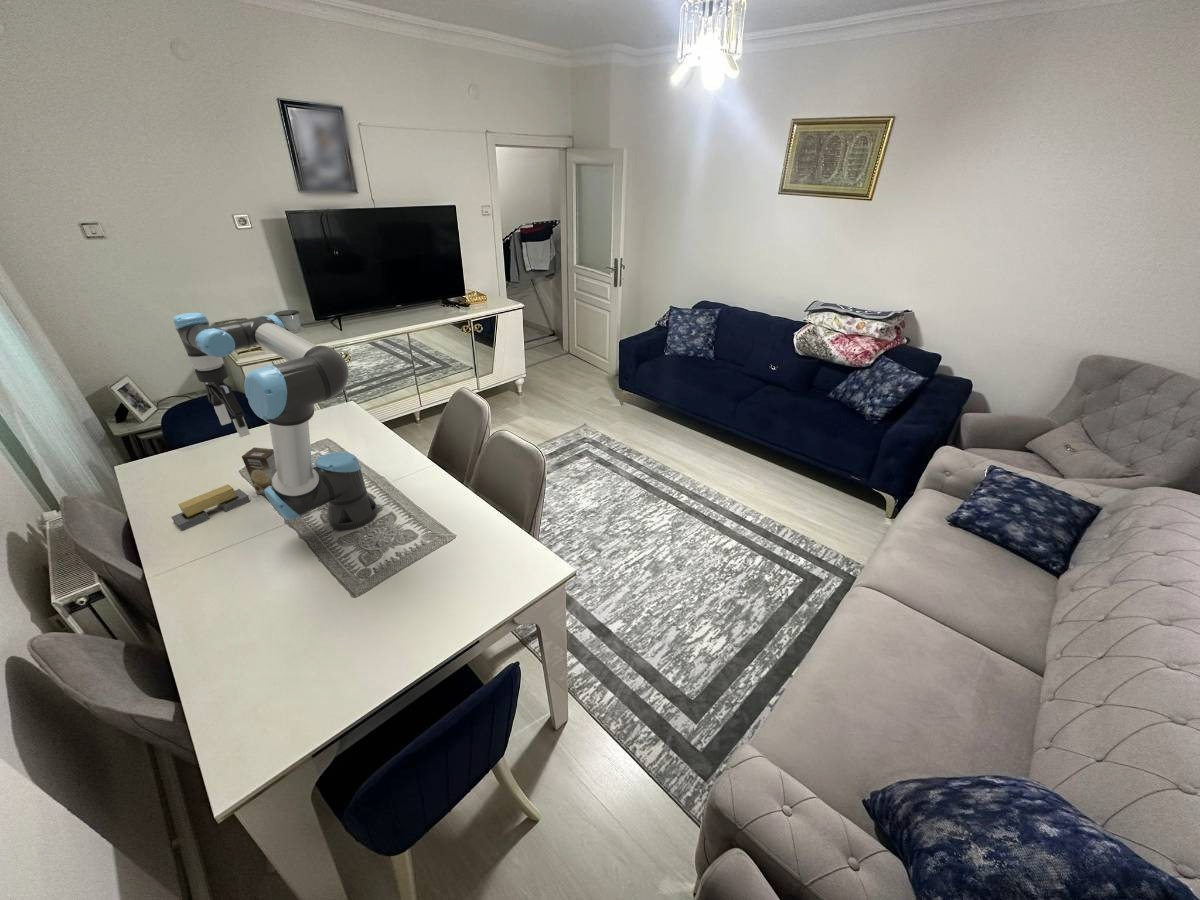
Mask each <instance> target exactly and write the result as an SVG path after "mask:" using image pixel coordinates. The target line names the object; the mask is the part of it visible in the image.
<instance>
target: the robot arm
mask: <svg viewBox="0 0 1200 900" xmlns="http://www.w3.org/2000/svg"><path fill="white" fill-rule="evenodd" d="M172 320H173V324H174V327H175V331H176V332H177V334H178V336H179V338H180V340H181V342H182V345H183V347H184V349H185V352H186V353H187V354H186V355H187V357H188V359H189V361H190V364H191V366H192V368H193V369H195V370H194V374H195V375H196V377H197V380H198V381H199V382H200V383H203V384H204V388H205V392H206V395H207V399H208V400H207V401H208V403H211V405H212V406H213V409H214V411H215V414H216V415H217V417H218V420H219V423H220V425H221V426H225V425H228V424H232V422H233V424H234V427H235V429H236V431H237V434H238V437H240V438H243V437H247V436H248V435H249V436H250V435H251V433H250V430H249V428H248V425H247V423H246V419H245V418H244V417H245V416H246V413H245V412H244V410H243V408H242V407H241V405H240V403H239V401H238V399H237V397H236V396H235V394H234V392H233V390H232V386H231V385H230V384H227V383H225V381H224V380H226V379H228V378H229V376H230V374H229V372H228V371H229V370H228V369H227V367H226V364H224V359H223V358H226V357H228V356H229V355H231V354H232V353H233V352H234V351H238V350H242V349H246V348H252V347H255V346H261V347H262V348H265V349H266V350H268V351H270V352H271V353H273V354H275V355H276V356H278V357H280V358H282V359H284V360H286V361H283V362H280V363H277V364H273V365H269V364H268V365H264V366H262V367H260V368H257V369H255V370H252V371H250V372H249V373H248V374H247V375H246V377H245V378H244V385H243V387H244V394H245V397H246V398H247V400H248V404H249V406H250V408H251V410H252V412H253V413H254V414H255V415H256V416H257V417H258V418H260V419H262V420H264V421H265V422H266V423H268V424H269V425H268V426H269V429H270V437H271V444H272V449H273V451H274V457H275V464H276V470H277V472H276V473H275V474H274V476H273V478H272V486H268V487H267V488H266V489H265V490H264V493H265V497H266V498H267V500H268V501H269V503H270V505H271V507H272V508H273V509H274V510H275V511H276V513H277V514H278V515H279V516H280V517H281V518H282V519H283V520H286V521H292V520H296V519H297V518H300V517H303V516H304V515H306V514H308V513H310V512H312V511H314V510H316V509H317V508H320V507H322V506H324V505H326V504H327V506H328V507H327V516H326V517H327V521H328V523H329V526H330V527H331V528H334V529H335V530H341V531H342V530H343V531H348V530H353V529H357V528H360V527H363V526H365V525H366V524H368V523H370V522H372V521H373V520H374V519H375V518H376V516H377V515H378V512H379V511H378V510H379V509H378V505H377V503H376V501H375V500H374V498H373V497H372V496H371V495H370V493H369V492H368V491H367V486H366V484H365V483H366V482H365V479H364V476H363V472H362V466H361V465H360V462H359V460H358V458H357V456H356V455H355V454H352V453H350V452H343V451H337V452H336V451H334V452H329V453H325V454H322V455H320V456H318V457H317V458H316V459H315V464H314V465H315V466H314V467H313V461H312V450H311V449H312V448H311V437H310V425H309V421H310V420H311V419H312V418H313V416H314V414H315V405H316V404H319V403H321V402H324V401H327V400H329V399H333V398H334V397H336V396H338V395H340V393H341V392H343V390H345V389H344V388H345V387H346V386H347V383H348V381H349V377H350V376H349V375H350V374H349V373H350V372H349V365H348V363H347V362H346V360H345V358H344V357H343V356H342V355H341V354H340V353H339V352H337V350H335V349H333V348H330V347H329V346H326V345H317V344H315V343H313V342H311V341H308V340H307V339H305V338H303V337H301V336H299V335H298V334H297V335H296V334H295V333H293V332H291V331H289V330H287V329H286V328H285V325H284V323H283V322H282V320H281V319H280V318H279V317H278V316H276V315H275V314H270V315H269V314H268V315H260V316H255V317H252V318H246V319H242V320H238V321H233V322H226V323H220V324H216V325H210V321H209V320H208V318H207V316H206V315H205V314H204V313H201V312H185V313H180V314H178V315H175V316H174V317H173V318H172ZM229 413H230V415H231V417H230V415H229Z"/></svg>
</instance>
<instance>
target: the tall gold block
mask: <svg viewBox="0 0 1200 900" xmlns="http://www.w3.org/2000/svg"><path fill="white" fill-rule="evenodd" d="M236 497H237V496H236V493H235V489H234V487H233V486H232V485H230V484H225V485H223V486H220V487H218V488H215V489H213V490H210V491H207V492H205V493H203V494H200V495H198V496H196V497H192V498H190V499H188V500H184V501H182V502H180V503H178V504H177V505H178V507H179V508H180V510H181V513H182V512H183V514H184V515H185V516H186V518H187V519H190V518H192V517H194V516H197V515H199V512H201V511H203V510H204V511H206V510H208V509H211V508H213V507H215V506H218V504H220V503H223V502H225V503H228V502H230V501H232V500H235V499H237V498H236ZM187 519H186V520H187Z"/></svg>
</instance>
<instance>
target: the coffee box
mask: <svg viewBox="0 0 1200 900" xmlns="http://www.w3.org/2000/svg"><path fill="white" fill-rule="evenodd" d="M241 459H242V461H243V463H244V465H245V468H246V471H247V473H248V475H249V478H250V481H251V483H252V485H253V487H254V489H255V493H256V494H257V495H265V493H264V490H265V489H266V488H267V487H268V486H272V478H273V476H274V474H275V473H276V472H277V470H276V464H275V457H274V451H273V448H263V447H253V448H251V449H250V450H248V451H246V452H245V453H244V454H243V455H241ZM265 496H266V495H265Z"/></svg>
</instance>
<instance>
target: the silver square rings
mask: <svg viewBox="0 0 1200 900" xmlns="http://www.w3.org/2000/svg"><path fill="white" fill-rule="evenodd" d="M234 491H235V493H236V496H237V497H236V498H237V499H235V500H232V501H230V502H228V503H225V502H223V503H220V504H218V505H217V506H218V507H220V509H222V510H223V512H225V513H227V512H229V511H231V510H233V509H236V508H238V507H241V506H243V505H245V504H247V503H250V502H251V499H250V497H249V495H248V494H246V493H245V492H244V491H242V490H241V489H240V488H237V489H236V490H235V489H234ZM171 519H172V521H173V523H174V524H175V525H176V526H177V527H178V528H179V529H180V530H181V531H185V530H187V529H190V528H192V527H194V526H197V525H200V524H201V523H203V522H206V521H208V520H210V515H209V514H208V513H207V512H206V510H203V511H201V512H199V515H197V516H194V517H192V518H190V519H187V518H186V516H185V515H184V514H183V512H182V511H181V512H180V513H177V514H175V515H172V516H171Z"/></svg>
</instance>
